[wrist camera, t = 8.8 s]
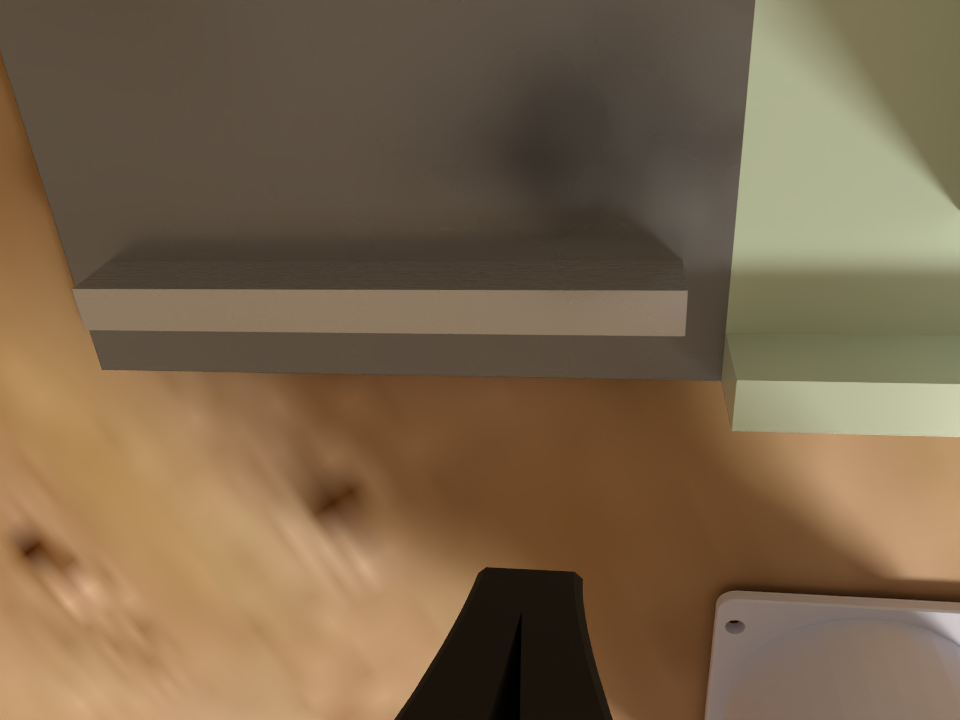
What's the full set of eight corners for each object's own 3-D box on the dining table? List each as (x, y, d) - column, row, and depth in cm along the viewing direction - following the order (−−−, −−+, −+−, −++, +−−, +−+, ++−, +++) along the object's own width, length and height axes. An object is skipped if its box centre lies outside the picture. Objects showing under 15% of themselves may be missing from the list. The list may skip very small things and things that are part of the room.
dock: (716, 358, 20) (729, 417, 18) (122, 350, 22) (68, 401, 20) (771, -276, 14) (798, -302, 12) (-45, -200, 16) (-145, -211, 14)
